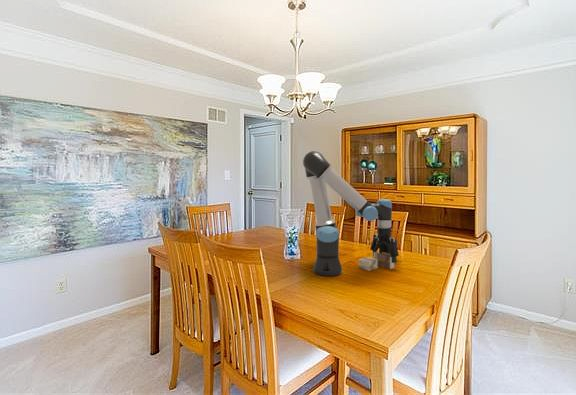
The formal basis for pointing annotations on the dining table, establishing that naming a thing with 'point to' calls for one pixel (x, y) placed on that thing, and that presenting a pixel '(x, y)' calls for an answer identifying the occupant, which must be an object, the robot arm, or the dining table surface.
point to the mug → (386, 249)
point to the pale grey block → (368, 263)
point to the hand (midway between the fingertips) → (383, 265)
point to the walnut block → (383, 259)
